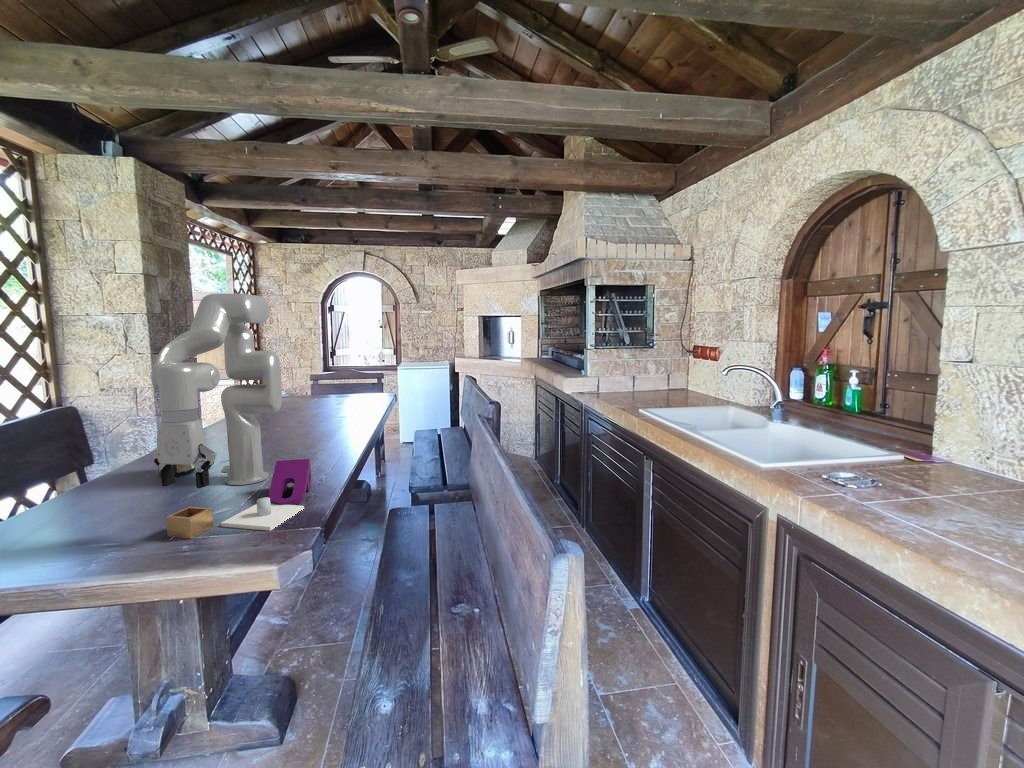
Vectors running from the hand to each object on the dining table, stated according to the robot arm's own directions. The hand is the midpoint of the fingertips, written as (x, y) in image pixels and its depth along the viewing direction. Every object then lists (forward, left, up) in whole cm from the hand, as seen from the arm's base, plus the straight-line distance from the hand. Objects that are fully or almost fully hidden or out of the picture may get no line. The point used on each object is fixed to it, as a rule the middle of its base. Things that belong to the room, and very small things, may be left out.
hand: (185, 485), depth 116 cm
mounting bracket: (+9, +27, -13) cm, 31 cm away
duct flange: (+12, +12, -12) cm, 20 cm away
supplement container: (-43, +40, -12) cm, 60 cm away
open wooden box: (0, +1, -12) cm, 12 cm away
